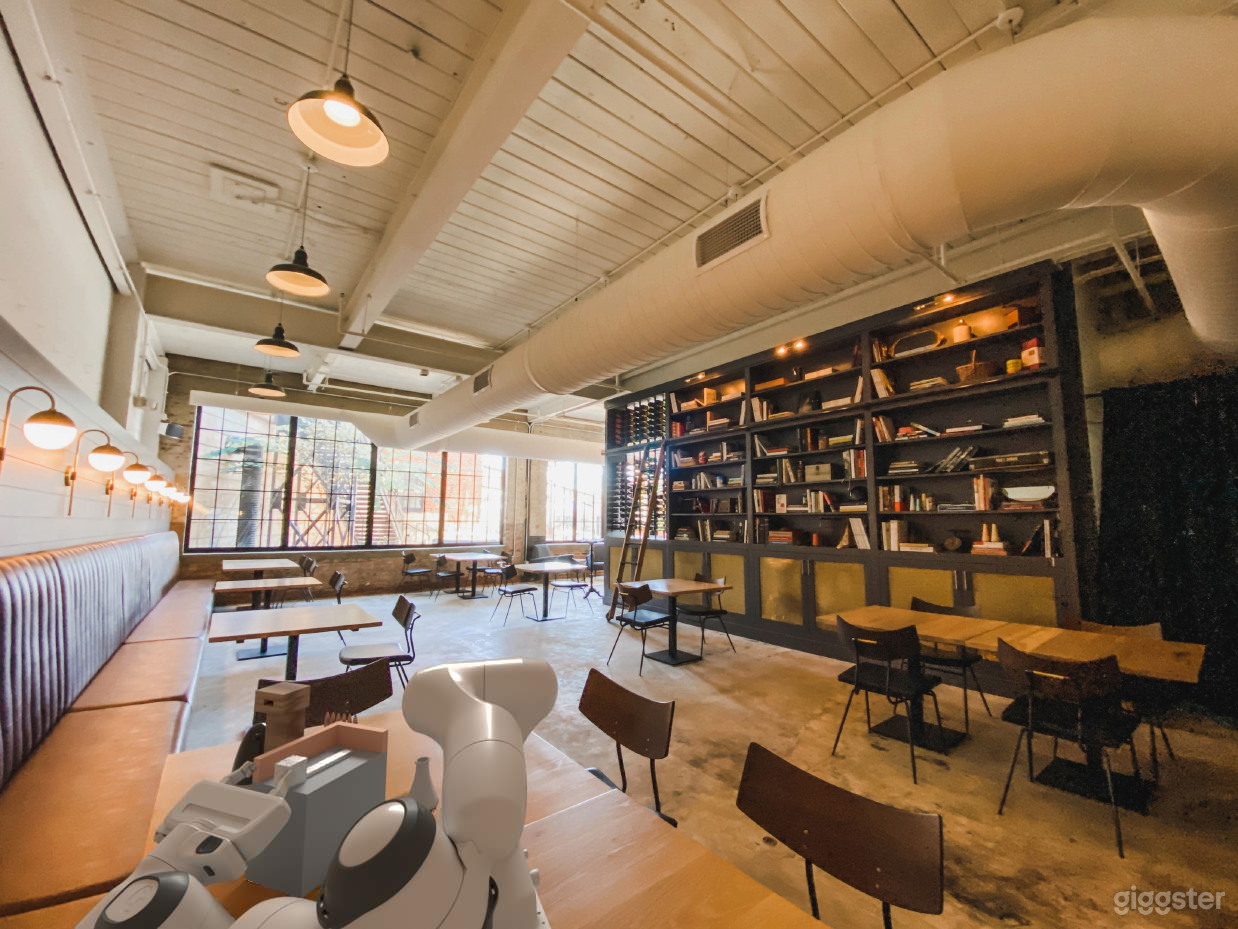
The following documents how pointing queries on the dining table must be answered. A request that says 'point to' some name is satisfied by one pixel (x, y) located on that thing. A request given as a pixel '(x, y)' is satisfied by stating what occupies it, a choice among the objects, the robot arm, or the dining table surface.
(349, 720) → the ammunition clip
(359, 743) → the terracotta walls
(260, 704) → the walnut post
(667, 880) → the dining table surface
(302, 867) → the slate crate
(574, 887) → the dining table surface
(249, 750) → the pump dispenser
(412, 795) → the flask
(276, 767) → the aluminium bracket
